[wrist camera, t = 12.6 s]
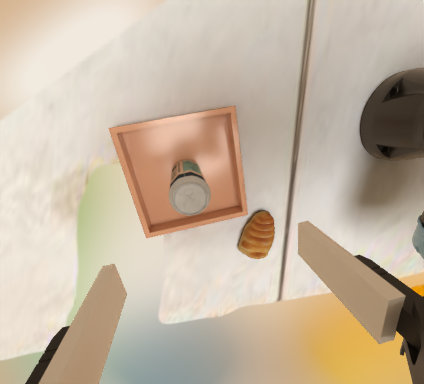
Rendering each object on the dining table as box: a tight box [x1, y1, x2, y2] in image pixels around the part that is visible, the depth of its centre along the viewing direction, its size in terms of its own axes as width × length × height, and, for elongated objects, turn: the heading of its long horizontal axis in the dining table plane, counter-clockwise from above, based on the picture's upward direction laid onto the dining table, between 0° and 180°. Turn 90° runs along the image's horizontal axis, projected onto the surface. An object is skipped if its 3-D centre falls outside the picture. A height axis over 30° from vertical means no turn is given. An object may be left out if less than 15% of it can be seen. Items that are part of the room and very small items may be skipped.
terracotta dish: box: [109, 106, 248, 238], centre depth 32 cm, size 18×18×4 cm
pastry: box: [238, 211, 275, 259], centre depth 38 cm, size 9×7×4 cm
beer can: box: [169, 159, 211, 216], centre depth 27 cm, size 5×5×12 cm
